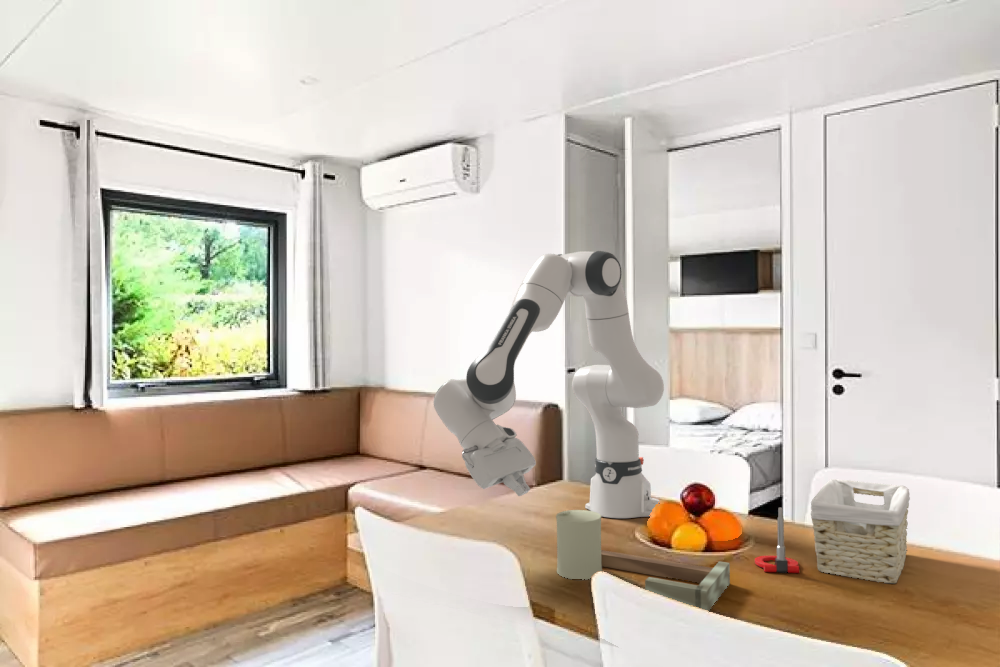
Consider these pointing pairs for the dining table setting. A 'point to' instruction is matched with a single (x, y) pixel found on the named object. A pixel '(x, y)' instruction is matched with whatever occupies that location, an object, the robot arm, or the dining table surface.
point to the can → (578, 544)
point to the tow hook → (778, 554)
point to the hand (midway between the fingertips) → (525, 493)
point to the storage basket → (860, 530)
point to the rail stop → (696, 595)
